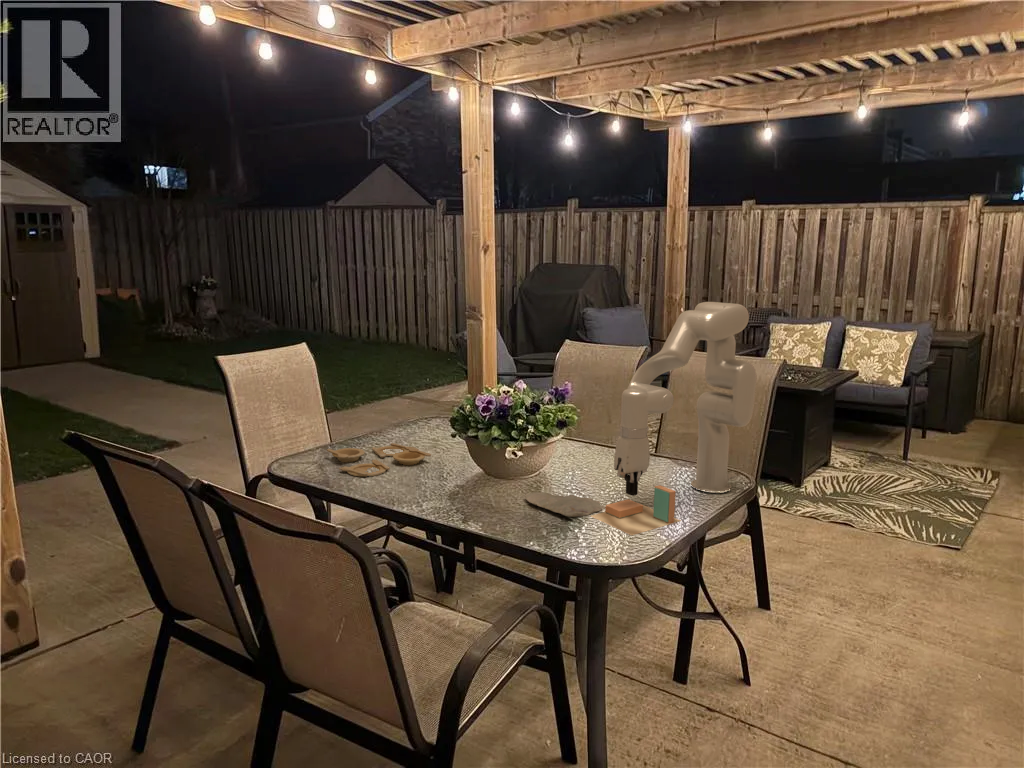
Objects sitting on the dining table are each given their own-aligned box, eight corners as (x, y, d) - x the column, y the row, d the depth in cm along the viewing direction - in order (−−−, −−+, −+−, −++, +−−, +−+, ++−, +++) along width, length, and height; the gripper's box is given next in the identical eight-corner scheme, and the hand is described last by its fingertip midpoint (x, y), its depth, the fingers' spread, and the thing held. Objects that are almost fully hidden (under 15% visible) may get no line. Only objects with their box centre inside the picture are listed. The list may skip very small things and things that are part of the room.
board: (638, 506, 214) (638, 503, 214) (681, 524, 200) (681, 520, 200) (589, 519, 203) (589, 515, 203) (631, 538, 190) (631, 535, 189)
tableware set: (354, 482, 236) (353, 470, 236) (316, 461, 259) (316, 451, 258) (442, 463, 258) (442, 452, 257) (401, 445, 280) (401, 435, 280)
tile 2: (658, 515, 204) (659, 485, 202) (673, 522, 199) (675, 491, 197) (652, 517, 203) (653, 486, 201) (668, 523, 198) (669, 492, 196)
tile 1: (628, 499, 210) (605, 505, 205) (642, 505, 205) (619, 511, 200) (628, 506, 211) (605, 512, 206) (642, 512, 206) (619, 519, 201)
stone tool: (613, 509, 215) (541, 491, 228) (614, 498, 214) (542, 481, 227) (584, 527, 199) (508, 507, 212) (585, 515, 198) (509, 495, 211)
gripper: (643, 426, 210) (641, 486, 214) (605, 433, 202) (603, 495, 205) (662, 431, 204) (659, 493, 207) (623, 439, 196) (621, 502, 199)
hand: (631, 494), depth 206 cm, fingers closed
